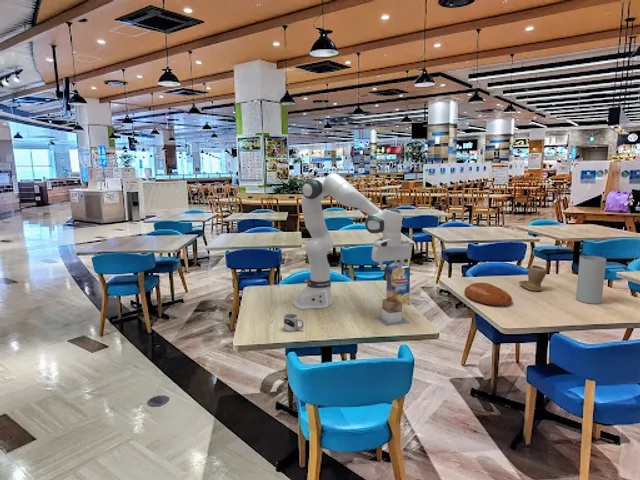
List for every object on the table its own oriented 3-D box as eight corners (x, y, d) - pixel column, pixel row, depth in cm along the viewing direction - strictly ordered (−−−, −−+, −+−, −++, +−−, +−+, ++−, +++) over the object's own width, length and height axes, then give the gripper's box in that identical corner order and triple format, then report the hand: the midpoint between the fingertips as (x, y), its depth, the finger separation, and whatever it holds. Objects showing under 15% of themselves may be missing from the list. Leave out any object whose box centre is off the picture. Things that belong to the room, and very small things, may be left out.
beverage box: (409, 305, 236) (410, 267, 232) (391, 307, 232) (392, 268, 229) (403, 301, 242) (404, 264, 238) (386, 303, 239) (386, 266, 235)
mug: (281, 330, 201) (281, 317, 200) (287, 325, 207) (287, 313, 206) (301, 333, 198) (300, 320, 196) (306, 328, 204) (306, 315, 203)
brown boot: (548, 292, 257) (550, 268, 254) (529, 292, 257) (531, 268, 254) (536, 285, 271) (537, 262, 269) (517, 285, 272) (519, 262, 269)
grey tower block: (388, 323, 205) (389, 313, 204) (382, 318, 211) (382, 308, 211) (401, 321, 207) (401, 311, 206) (394, 316, 214) (394, 307, 213)
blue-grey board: (386, 329, 201) (386, 326, 201) (374, 320, 213) (374, 317, 213) (409, 325, 206) (410, 322, 205) (396, 316, 218) (396, 314, 217)
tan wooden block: (389, 313, 204) (389, 303, 203) (382, 308, 211) (382, 299, 210) (401, 311, 206) (401, 301, 205) (394, 307, 213) (394, 297, 212)
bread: (489, 309, 227) (490, 294, 226) (453, 293, 257) (454, 279, 256) (522, 305, 234) (524, 290, 232) (484, 289, 264) (485, 276, 262)
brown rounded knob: (390, 302, 204) (390, 292, 204) (385, 299, 209) (385, 290, 208) (399, 301, 206) (399, 291, 205) (394, 298, 211) (394, 289, 210)
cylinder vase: (576, 296, 248) (580, 254, 244) (602, 299, 241) (606, 257, 236) (574, 301, 238) (578, 258, 234) (601, 305, 231) (605, 261, 226)
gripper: (407, 239, 211) (406, 265, 214) (370, 241, 205) (369, 269, 207) (413, 241, 205) (412, 268, 208) (376, 243, 199) (375, 272, 201)
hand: (391, 269), depth 207 cm, fingers open, 8 cm apart
